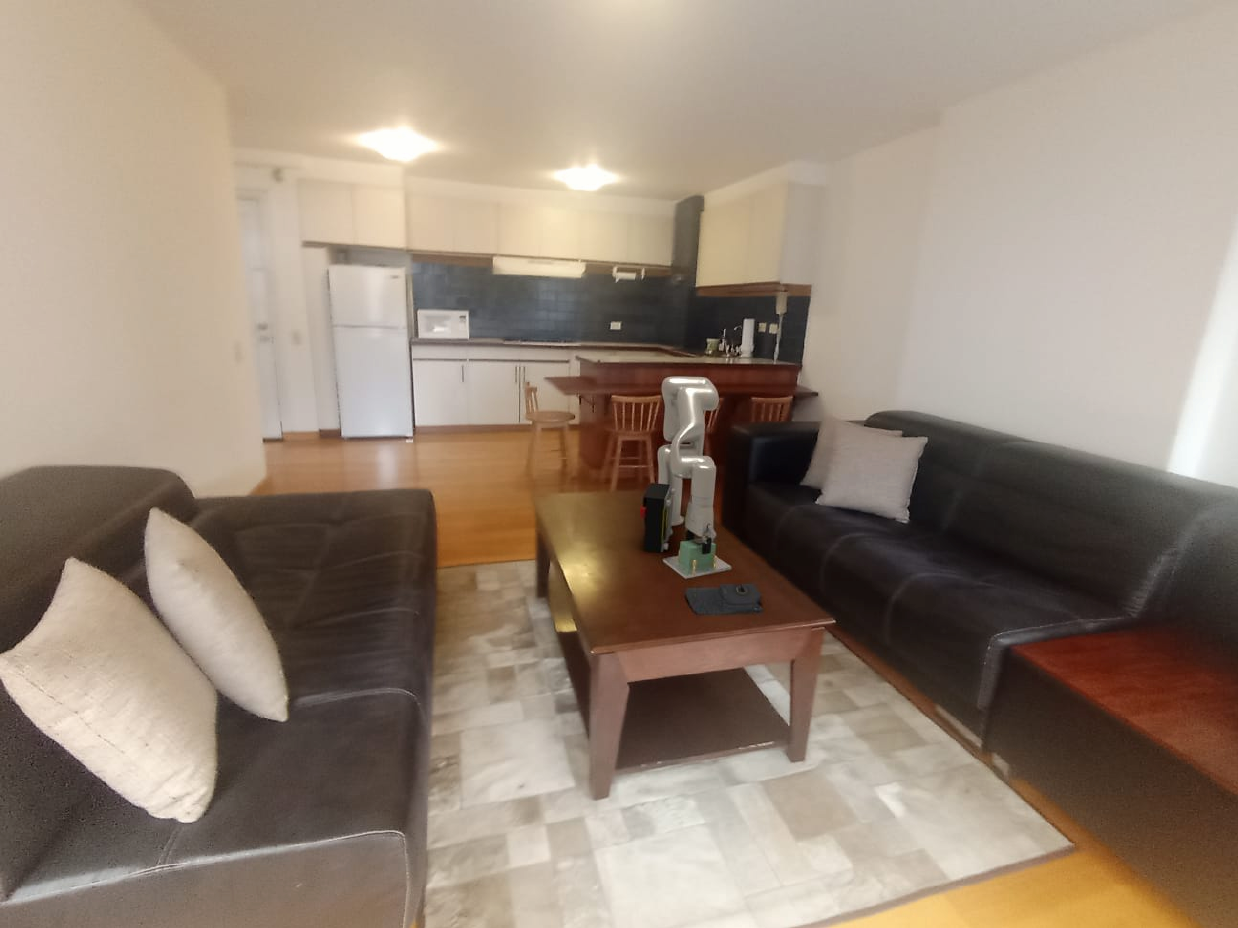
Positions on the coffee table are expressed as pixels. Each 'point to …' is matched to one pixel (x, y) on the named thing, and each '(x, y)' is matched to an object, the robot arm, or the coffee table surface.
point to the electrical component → (657, 516)
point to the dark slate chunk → (725, 600)
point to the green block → (695, 553)
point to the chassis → (696, 571)
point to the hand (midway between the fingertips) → (697, 547)
